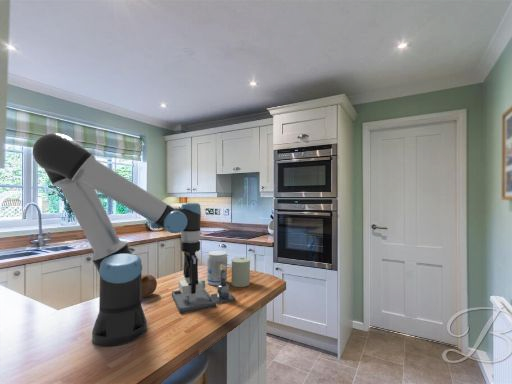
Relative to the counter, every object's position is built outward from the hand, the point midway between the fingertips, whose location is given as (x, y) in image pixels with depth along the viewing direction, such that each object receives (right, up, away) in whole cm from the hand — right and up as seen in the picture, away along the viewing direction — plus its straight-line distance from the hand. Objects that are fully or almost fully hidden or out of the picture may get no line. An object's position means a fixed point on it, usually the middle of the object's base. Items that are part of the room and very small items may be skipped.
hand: (190, 297), depth 107 cm
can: (+19, -2, +22) cm, 29 cm away
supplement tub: (+8, -2, +23) cm, 24 cm away
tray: (+1, -2, 0) cm, 2 cm away
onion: (-21, -2, +5) cm, 21 cm away
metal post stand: (+13, -2, +3) cm, 13 cm away
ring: (0, +3, 0) cm, 3 cm away
